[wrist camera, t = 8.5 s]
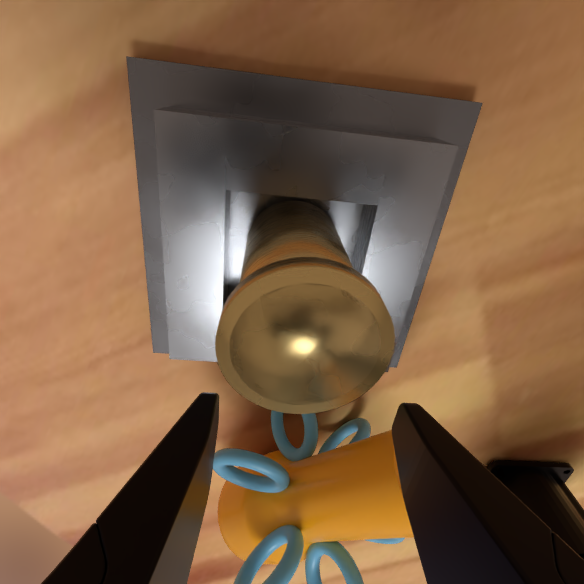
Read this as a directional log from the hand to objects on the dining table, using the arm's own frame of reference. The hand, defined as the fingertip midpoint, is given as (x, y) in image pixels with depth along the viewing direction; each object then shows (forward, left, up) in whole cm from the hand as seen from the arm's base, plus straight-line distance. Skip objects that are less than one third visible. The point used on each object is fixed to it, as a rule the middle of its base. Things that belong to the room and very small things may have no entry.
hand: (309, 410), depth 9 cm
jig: (0, 0, -11) cm, 11 cm away
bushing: (0, 0, -10) cm, 10 cm away
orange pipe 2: (0, +18, -8) cm, 20 cm away
